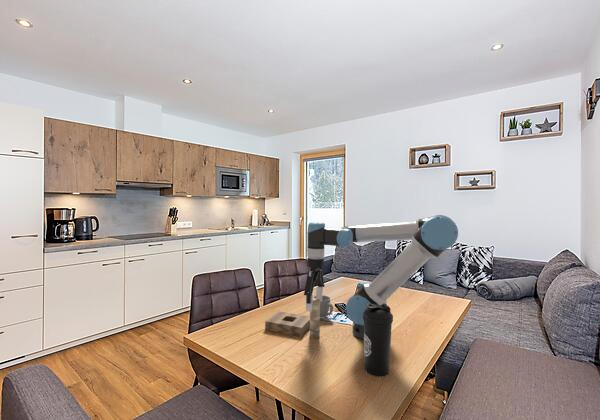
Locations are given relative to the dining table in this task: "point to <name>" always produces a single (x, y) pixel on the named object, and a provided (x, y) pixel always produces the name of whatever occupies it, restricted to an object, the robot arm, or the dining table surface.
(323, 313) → the mug
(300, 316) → the board
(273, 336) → the dining table surface
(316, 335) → the peg
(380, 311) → the water bottle
